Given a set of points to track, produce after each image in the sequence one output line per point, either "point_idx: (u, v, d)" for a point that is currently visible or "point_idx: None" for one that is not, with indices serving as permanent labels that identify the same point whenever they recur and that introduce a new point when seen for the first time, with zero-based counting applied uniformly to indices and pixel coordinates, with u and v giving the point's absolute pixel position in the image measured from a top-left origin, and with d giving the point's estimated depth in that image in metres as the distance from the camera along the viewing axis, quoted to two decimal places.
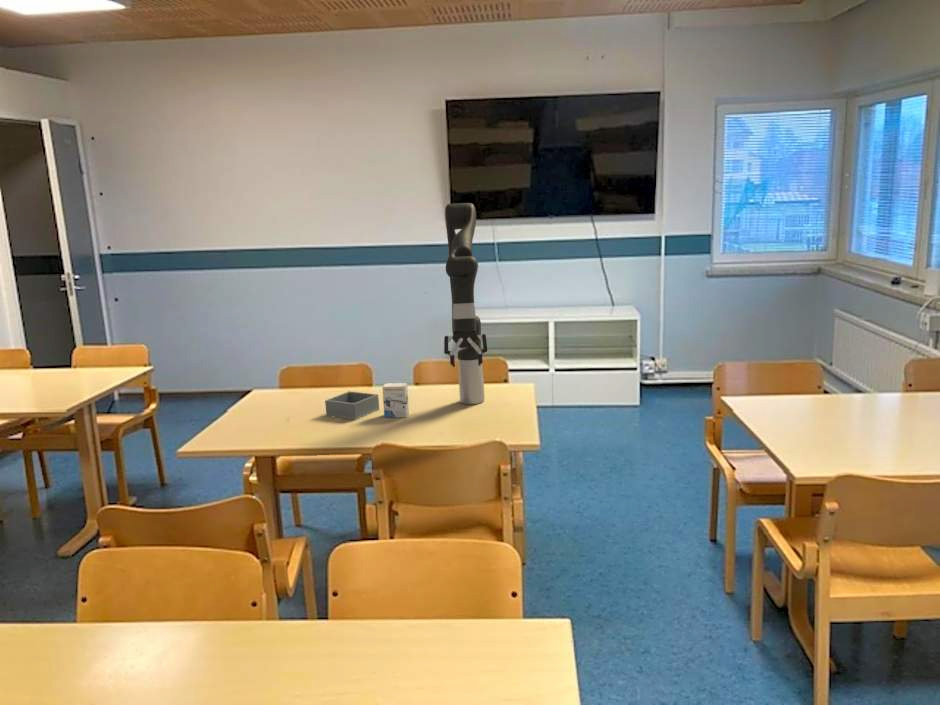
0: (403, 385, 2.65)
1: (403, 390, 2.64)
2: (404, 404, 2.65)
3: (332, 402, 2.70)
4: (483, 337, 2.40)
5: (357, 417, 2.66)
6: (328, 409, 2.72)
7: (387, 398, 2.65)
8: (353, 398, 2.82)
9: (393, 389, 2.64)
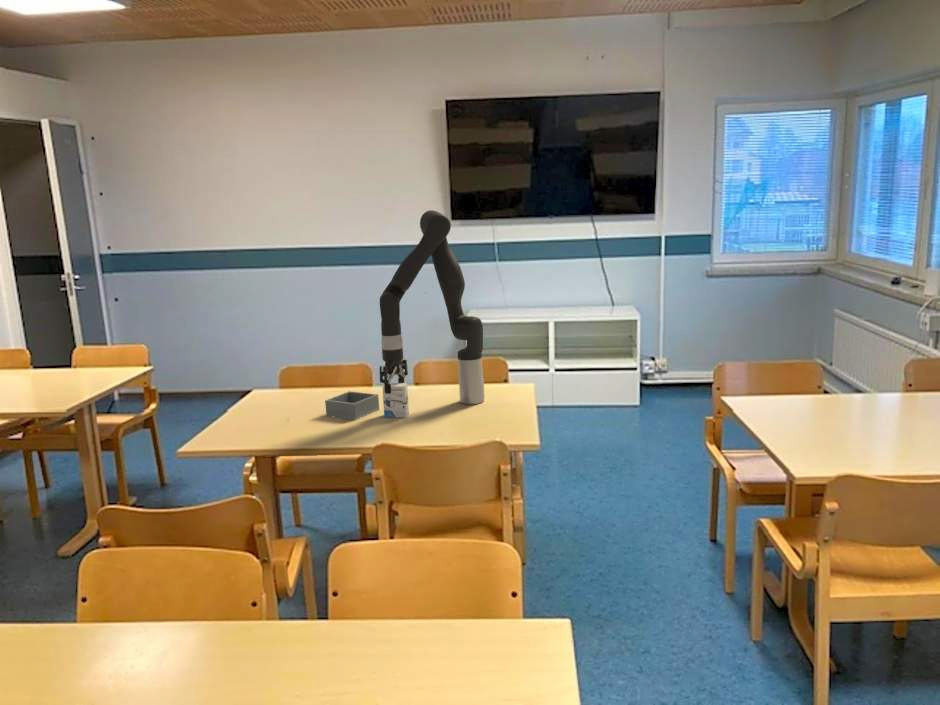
0: (403, 385, 2.65)
1: (403, 390, 2.64)
2: (404, 404, 2.65)
3: (332, 402, 2.70)
4: None
5: (357, 417, 2.66)
6: (328, 409, 2.72)
7: (387, 398, 2.65)
8: (353, 398, 2.82)
9: (393, 389, 2.64)
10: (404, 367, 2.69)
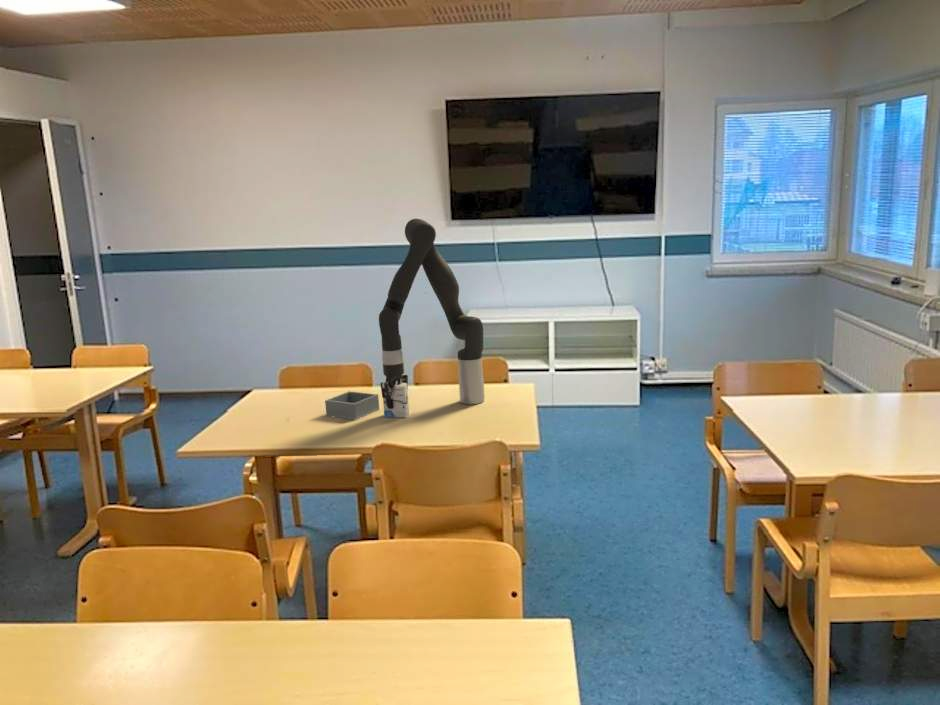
0: (403, 385, 2.65)
1: (403, 390, 2.64)
2: (404, 404, 2.65)
3: (332, 402, 2.70)
4: None
5: (357, 417, 2.66)
6: (328, 409, 2.72)
7: None
8: (353, 398, 2.82)
9: None
10: (405, 382, 2.71)
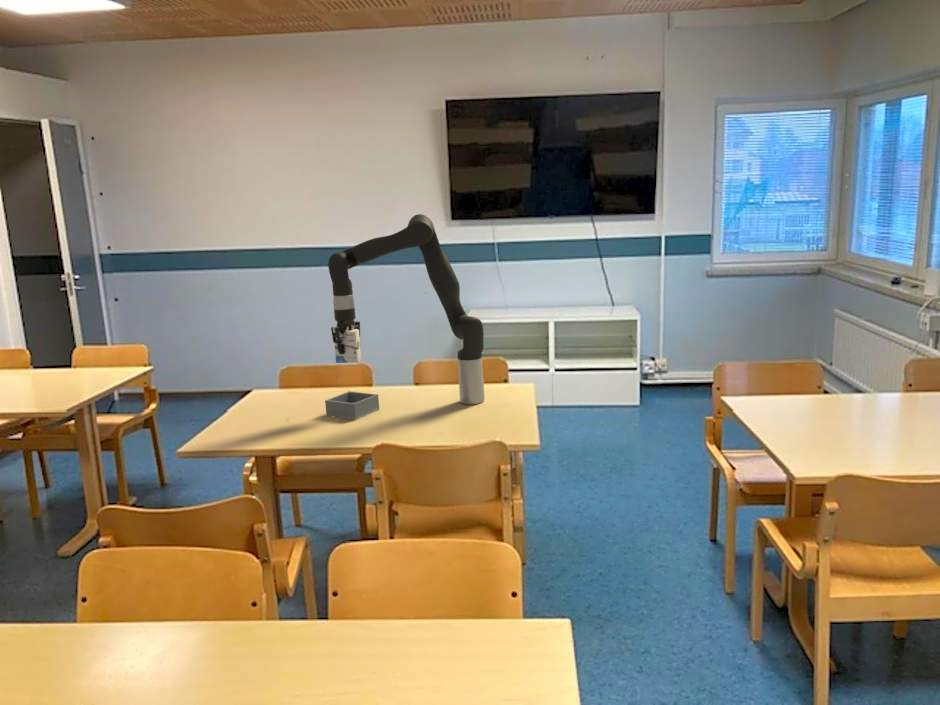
0: (354, 330, 2.67)
1: (354, 335, 2.66)
2: (355, 349, 2.67)
3: (332, 402, 2.70)
4: None
5: (357, 417, 2.66)
6: (328, 409, 2.72)
7: None
8: (353, 398, 2.82)
9: None
10: None
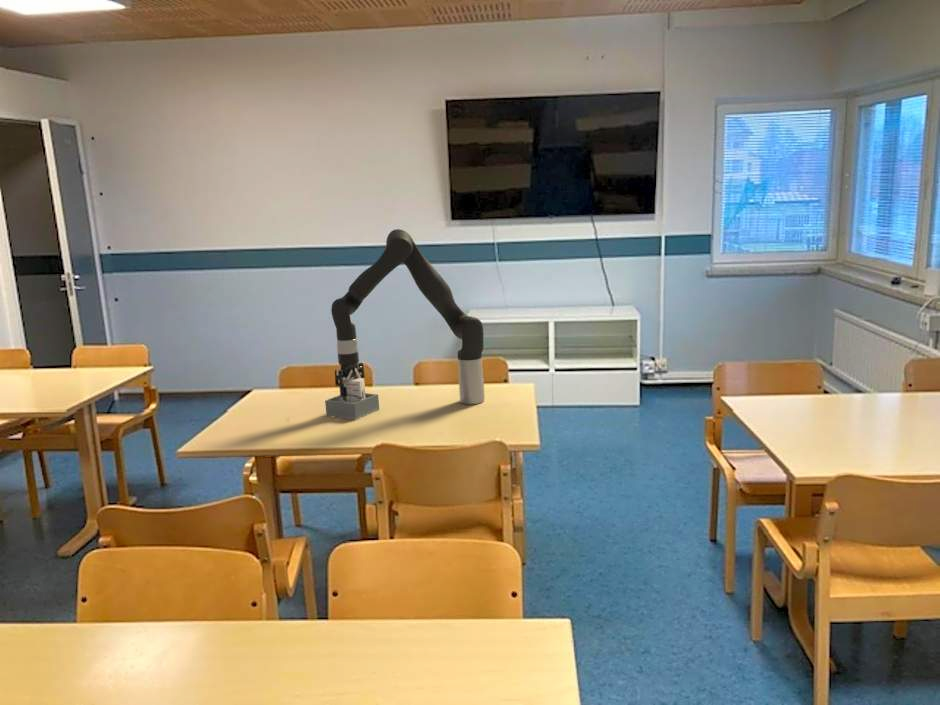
0: (359, 380, 2.71)
1: (358, 385, 2.71)
2: (359, 399, 2.71)
3: (332, 402, 2.70)
4: None
5: (357, 417, 2.66)
6: (328, 409, 2.72)
7: None
8: None
9: (349, 384, 2.71)
10: (361, 370, 2.77)
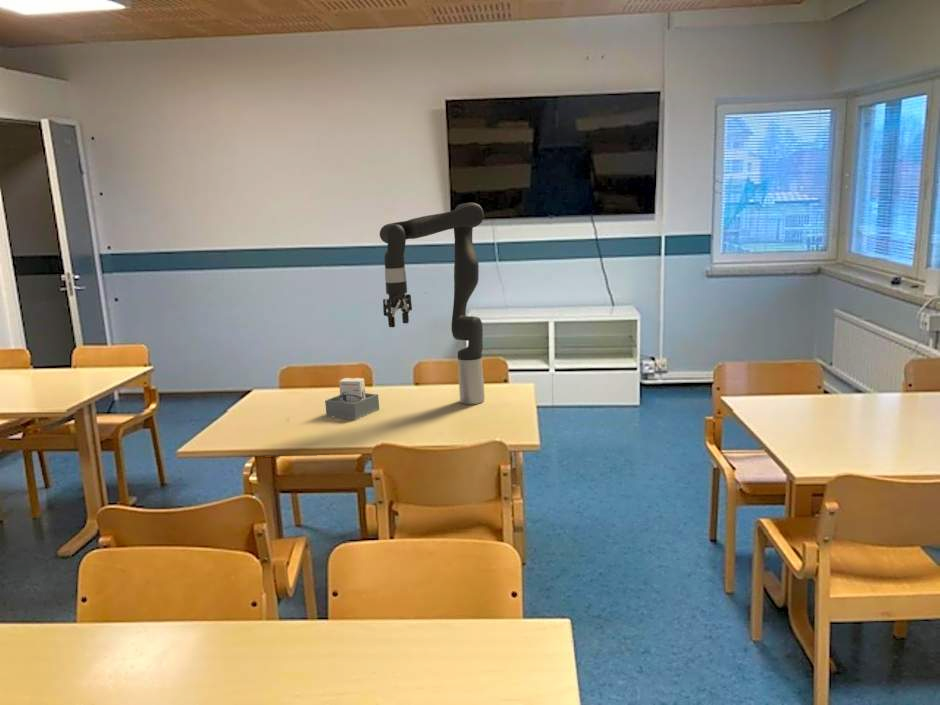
0: (359, 380, 2.71)
1: (358, 385, 2.70)
2: (359, 399, 2.71)
3: (332, 402, 2.70)
4: None
5: (357, 417, 2.66)
6: (328, 409, 2.72)
7: (343, 393, 2.72)
8: None
9: (349, 384, 2.71)
10: (408, 302, 2.68)
